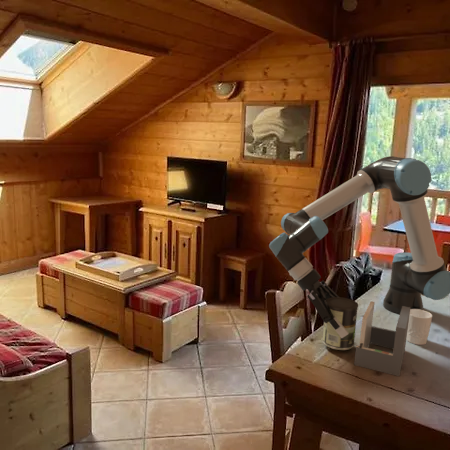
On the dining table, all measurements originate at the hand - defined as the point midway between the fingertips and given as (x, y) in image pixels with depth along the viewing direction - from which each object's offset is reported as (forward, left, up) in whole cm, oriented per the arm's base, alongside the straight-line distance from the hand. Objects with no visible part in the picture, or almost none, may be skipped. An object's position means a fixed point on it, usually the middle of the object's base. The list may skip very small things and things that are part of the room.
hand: (348, 329), depth 148 cm
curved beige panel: (-5, +1, -6) cm, 8 cm away
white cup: (-20, -19, -7) cm, 28 cm away
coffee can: (+3, 0, -6) cm, 6 cm away
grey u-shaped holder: (-10, 0, -7) cm, 12 cm away
